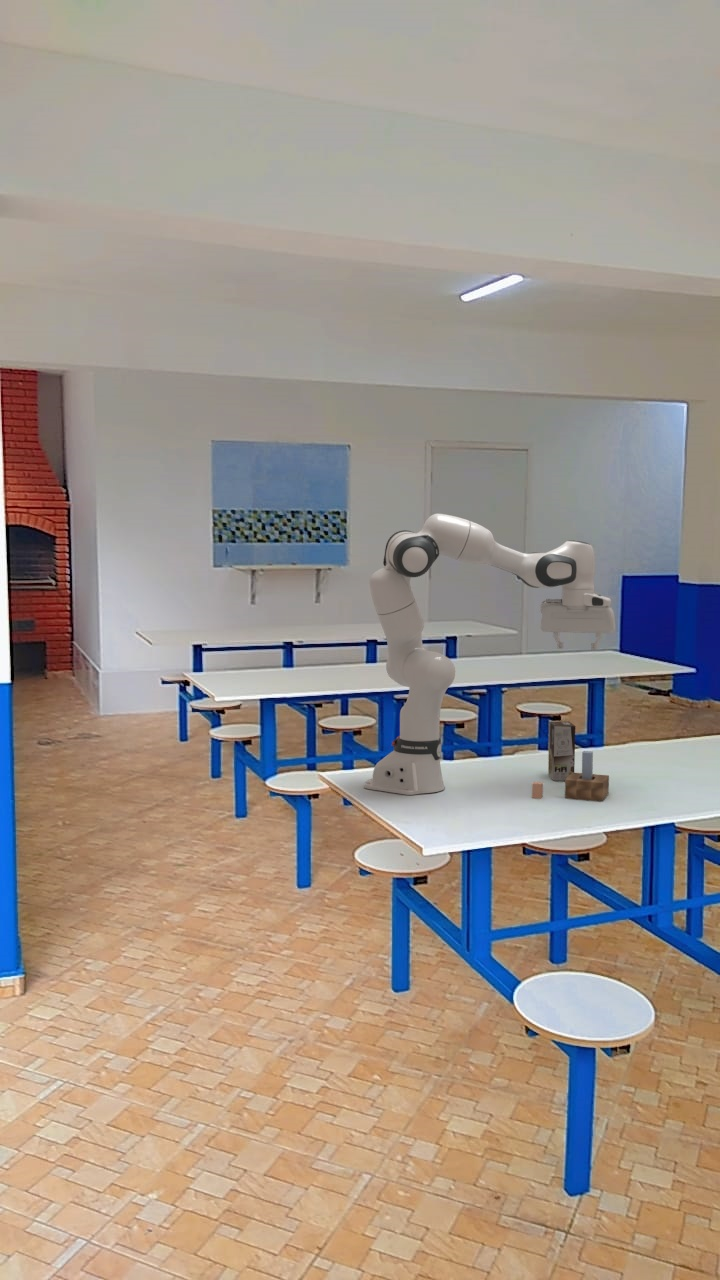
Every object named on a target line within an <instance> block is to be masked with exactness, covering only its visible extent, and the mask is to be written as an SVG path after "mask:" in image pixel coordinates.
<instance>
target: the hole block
mask: <svg viewBox="0 0 720 1280" xmlns="http://www.w3.org/2000/svg"><path fill="white" fill-rule="evenodd" d="M564 782H565V783H564V798H565V799H570V800H571V799H572V800H580V801H581V800H582V801H593V802H601V803H603V802H604V800H605V799H606V798H607V796H608V795H609V791H610V788H609V787H610V786H609V785H610V784H609V783H610V775H608V774H596V773H595V774H593V773H592V780H590V779H582V772H574V773H571V774H570V775H569V776H568V777H567V778H566V780H565V781H564Z"/></svg>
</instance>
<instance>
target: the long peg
mask: <svg viewBox="0 0 720 1280" xmlns="http://www.w3.org/2000/svg"><path fill="white" fill-rule="evenodd" d="M581 756H582V757H581V773H582V779H590V780H592V774H593V772H594V771H593V769H594V766H593V764H594V763H593V762H594V761H593V760H594V758H593V757H594V752H593V751H590V750H589V751H588V750H584V751H582V755H581Z"/></svg>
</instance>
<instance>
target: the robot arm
mask: <svg viewBox="0 0 720 1280" xmlns="http://www.w3.org/2000/svg"><path fill="white" fill-rule="evenodd" d="M440 555H441V556H445V557H448V558H451V559H454V560H457V561H459V562H464V563H467V564H473V565H488V566H489V565H490V566H493V567H495V568H498V569H499V570H503V571H506V572H508V573H511V574H514V575H515V576H517V578H518V579H519V580H520V581H522V583H523V584H524V585H526V586H527V587H530V588H535V589H538V588H547V589H548V588H556V587H558V586H561V598H555V599H554V598H553V599H552V598H547V599H545V600H542V602H541V603H540V604H541V605H540V612H541V620H540V629H541V631H542V632H544V633H553V635H552V636H553V638H554V640H555V641H556V647H557V649H564V644H565V643H564V641H561V640H560V637H559V636H560V634H561V633H575V634H576V633H579V634H595V638H596V640H595V641H594V642H591V643H590V644H591V645H590V646H591V650H595V651H597V650H598V648H599V647H598V644H599V642H600V640H601V639H602V637H603V634H613V633H614V632H615V631H616V620H615V618H616V617H615V612H614V610H613V608H612V607H611V605H612V600H611V598H610V597H607V596H605V595H601V594H597V593H595V588H596V587H595V585H594V584H595V582H594V577H595V574H596V564H595V562H596V560H595V558H596V557H595V552H594V547H593V546H592V544H591V543H588V542H586V541H581V540H570V539H569V540H567V541H566V540H565V542H564V543H562V544H561V545H560V546H558V547H556V548H554V549H552V550H549V551H547V552H537V551H536V552H527V553H526V552H521V551H518V550H516V549H513V548H510V547H507V546H504V545H503V544H500V543H498V542H497V541H496V540H495V538H494V535H493V533H492V531H491V530H489V529H488V528H486V527H485V526H483V525H481V524H478V523H476V522H474V521H471V520H468V519H465V518H463V517H462V518H461V517H460V516H454V515H451V514H445V513H434V514H431V515H430V516H429V517H428V518H427V519H426V521H425V522H424V524H423V526H422V528H421V530H420V531H418V532H416V533H415V532H414V531H413V530H412V531H411V530H405V529H404V530H399V531H396V532H394V533H393V534H392V535H390V537H389V538H388V540H387V542H386V545H385V549H384V556H383V561H382V563H383V567H381V568H378V569H377V570H376V571H375V572H373V574H372V575H371V576H370V578H369V589H370V594H371V598H372V602H373V605H374V608H375V611H376V614H377V617H378V620H379V622H380V624H381V627H382V630H383V632H384V636H385V639H386V642H387V644H386V645H387V649H388V651H387V652H388V657H387V659H386V663H385V664H386V665H385V667H386V668H385V669H386V672H387V675H388V677H390V679H391V680H393V681H394V682H395V683H397V684H398V685H401V686H403V687H407V688H408V689H409V691H408V695H407V699H406V702H405V704H404V705H403V706H402V707H401V709H400V712H399V735H398V736H396V738H395V739H393V741H391V743H392V744H391V746H393V751H391V752H389V753H388V754H387V755H386V756H385V757H383V758H382V759H380V760H379V761H378V762H377V763H376V764H375V766H374V768H373V771H372V772H373V773H372V778H370V779H368V780H366V781H365V782H364V789H366V790H374V791H380V792H386V793H387V792H388V793H393V794H399V795H407V796H411V795H412V796H413V795H419V794H430V793H436V792H437V793H438V792H440V791H443V790H445V788H446V785H445V783H444V780H443V774H442V765H441V758H442V757H441V756H442V739H441V737H440V720H441V719H440V717H441V708H442V704H443V701H444V700H443V699H444V697H445V694H446V691H447V690H448V688H450V687H451V685H452V684H453V682H454V680H455V677H456V667H455V665H454V663H453V661H452V660H451V659H450V658H449V657H448V656H446V655H444V654H442V653H440V652H438V651H431V650H427V649H425V647H424V645H423V638H422V637H423V635H422V632H423V630H424V628H425V623H424V620H423V618H422V617H423V616H422V615H421V612H420V609H419V606H418V604H417V601H416V598H415V595H414V594H413V591H412V587H411V578H419V577H421V576H423V575H424V574H426V573H427V572H428V571H429V570H430V568H431V567H432V565H433V564H434V563H435V562H436V560H437V559H438V557H439V556H440Z"/></svg>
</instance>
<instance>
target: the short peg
mask: <svg viewBox="0 0 720 1280" xmlns="http://www.w3.org/2000/svg"><path fill="white" fill-rule="evenodd" d="M531 785H532V786H531V787H532V790H531V798H532V799H538V800H541V799H542V798H544V782H543V781H541V782H540V781H533V782H532V783H531Z"/></svg>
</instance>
